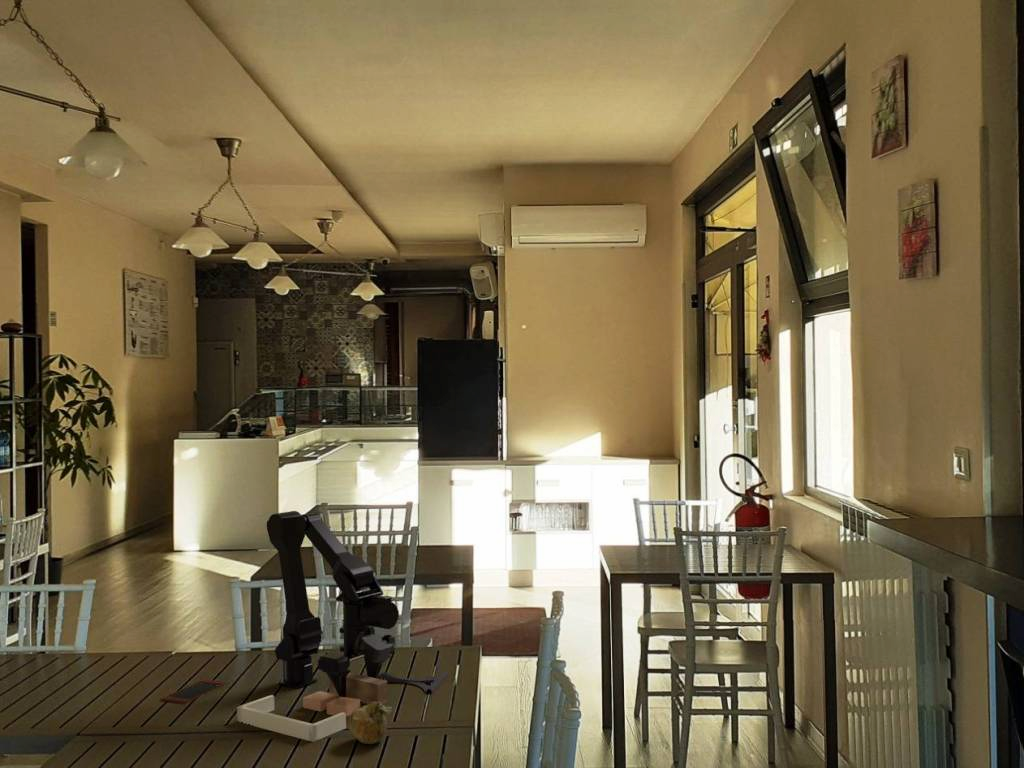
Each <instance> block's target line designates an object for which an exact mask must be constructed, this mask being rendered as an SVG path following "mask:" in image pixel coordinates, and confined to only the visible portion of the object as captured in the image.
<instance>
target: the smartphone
mask: <svg viewBox="0 0 1024 768" xmlns="http://www.w3.org/2000/svg"><path fill="white" fill-rule="evenodd" d="M200 683H203V684H200ZM204 683H205V684H204ZM197 684H198V685H197ZM210 684H212V685H210ZM226 684H228V685H229V682H227V681H218V680H211V679H202V680H200V681H197V682H196V683H193V684H190V685H189V686H185V687H184V688H182V689H179V690H177V691H175V692H172V693H170V694H168V695H166V696H164V697H161V698H160V700H162V701H161V702H164V701H167V702H166V703H172V702H175V703H174V704H179V703H187V702H189V701H191V702H193V701H192V700H194V699H196V698H198V699H199V697H200V696H202V695H204V694H207V693H208V692H211V691H213V690H215V689H218V688H220V687H222V686H224V685H226ZM216 685H220V686H216ZM192 686H193V687H192ZM222 688H223V687H222ZM211 689H212V690H211ZM220 689H221V688H220ZM218 690H219V689H218ZM211 693H212V692H211ZM207 695H208V694H207ZM202 697H203V696H202ZM200 698H201V697H200ZM160 700H159V701H160ZM196 700H197V699H196ZM194 701H195V700H194ZM189 703H190V702H189ZM187 704H188V703H187Z"/></svg>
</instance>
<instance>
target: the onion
mask: <svg viewBox="0 0 1024 768" xmlns="http://www.w3.org/2000/svg"><path fill="white" fill-rule="evenodd" d="M393 710H394V709H393V707H392V706H385V704H384V705H383V704H381V703H379V702H369V704H366V705H362V706H360V708H358V709H356V710H354V711H353V712H352V713H351V715H350V716H349V718H348V723H347V726H348V729H349V732H350V733H351V734H352V735H353V737H354V738H355V739H356V740H358V741H359V742H360V743H362V744H366V745H373V744H376V743H379V742H381V740H382V739H383V738H384V737H385V735H386V733H387V730H388V726H389V724H388V720H387V717H386V715H391V714H392V712H393Z"/></svg>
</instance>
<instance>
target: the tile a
mask: <svg viewBox="0 0 1024 768" xmlns="http://www.w3.org/2000/svg"><path fill="white" fill-rule="evenodd" d="M337 698H338V697H337V695H336V694H331V693H329V692H326V691H321V690H319V691H316V692H313V693H311V694H308V695H306V696H303V697H302V707H303V709H307V708H308V709H307V710H312V711H317V712H323V711H325V710H326V711H327V703H329V702H331V701H333V700H335V699H337Z"/></svg>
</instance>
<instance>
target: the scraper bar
mask: <svg viewBox="0 0 1024 768" xmlns="http://www.w3.org/2000/svg"><path fill="white" fill-rule="evenodd" d="M388 685H389V683H387V681H386V680H385V679H382V680H381V679H377V678H372V677H368V676H367V675H363V674H357V673H355V672H351V671H350V672H349V674H348V675H347V677H346V698H354V699H360V702H362V703H361V704H365V703H366V705H368V704H369V702H379V703H381V704H384V705H387V704H388V703H389V702H388V701H389V698H388V697H389V694H388V693H389V691H388V690H389V689H388ZM328 693H331V694H336V695H337V698H339V695H338V693H337V691H336V689H335V687H334V685H333V683H332V681H331V680H330V678H329V677H328ZM367 703H368V704H367ZM386 703H387V704H386Z"/></svg>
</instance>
